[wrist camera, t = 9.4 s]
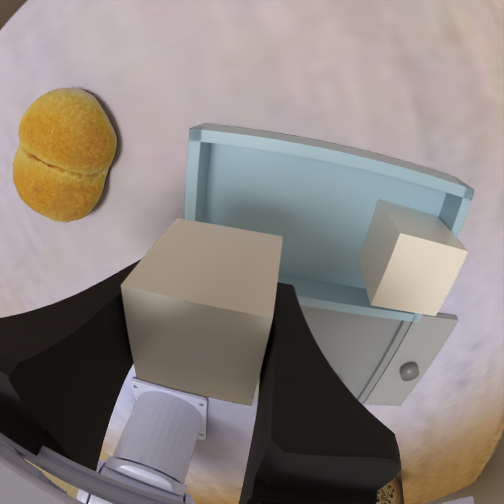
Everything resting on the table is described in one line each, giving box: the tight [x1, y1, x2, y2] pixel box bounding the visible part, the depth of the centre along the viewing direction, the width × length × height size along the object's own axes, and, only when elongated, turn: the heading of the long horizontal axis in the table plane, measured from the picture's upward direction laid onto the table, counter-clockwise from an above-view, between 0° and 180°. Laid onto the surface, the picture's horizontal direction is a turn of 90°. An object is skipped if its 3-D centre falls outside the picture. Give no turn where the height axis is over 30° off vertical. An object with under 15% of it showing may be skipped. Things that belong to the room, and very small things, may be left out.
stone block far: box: [358, 199, 468, 316], centre depth 16 cm, size 4×4×4 cm
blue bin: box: [184, 123, 474, 322], centre depth 17 cm, size 9×15×2 cm, turn 83°
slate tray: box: [259, 305, 458, 406], centre depth 23 cm, size 12×20×1 cm, turn 83°
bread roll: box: [13, 88, 117, 223], centre depth 17 cm, size 8×9×4 cm
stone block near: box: [121, 218, 283, 406], centre depth 11 cm, size 4×4×4 cm
